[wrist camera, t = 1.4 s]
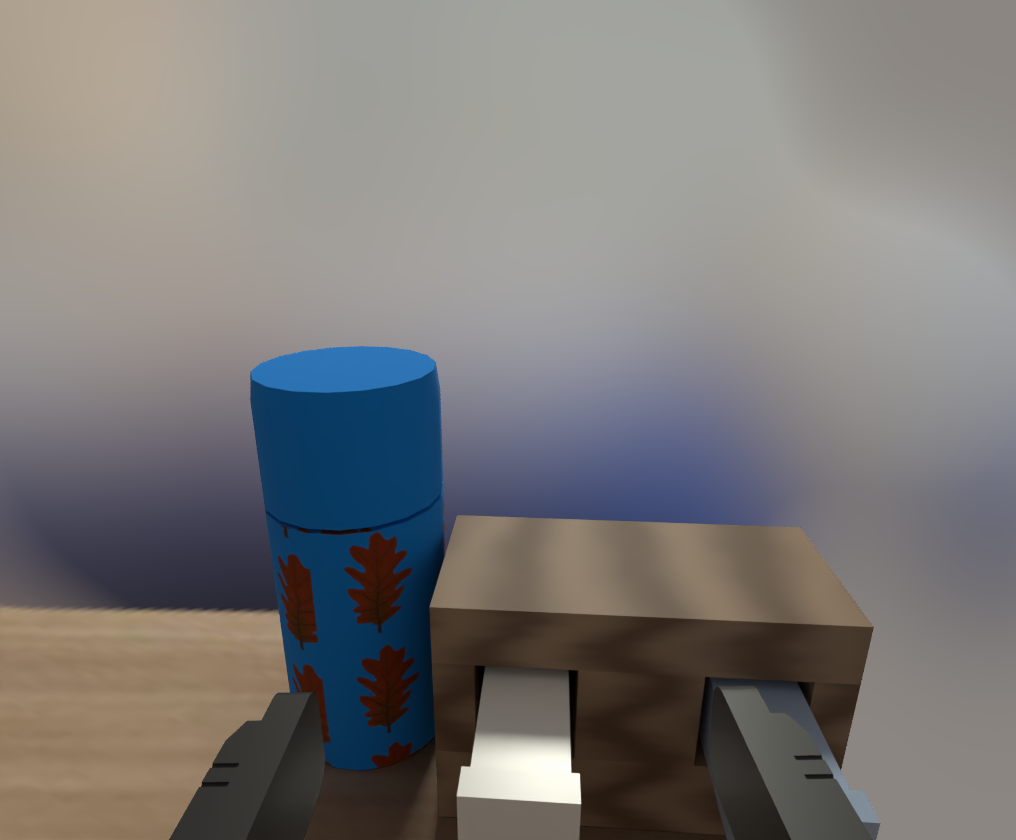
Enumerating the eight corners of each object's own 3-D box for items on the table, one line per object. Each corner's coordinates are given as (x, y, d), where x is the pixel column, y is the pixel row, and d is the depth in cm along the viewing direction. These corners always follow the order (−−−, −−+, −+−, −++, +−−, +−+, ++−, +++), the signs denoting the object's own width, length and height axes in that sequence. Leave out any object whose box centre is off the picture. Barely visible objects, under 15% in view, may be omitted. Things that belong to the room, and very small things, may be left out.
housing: (438, 816, 38) (429, 607, 33) (461, 692, 47) (457, 515, 42) (824, 841, 36) (873, 627, 32) (769, 708, 46) (800, 527, 41)
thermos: (471, 741, 43) (464, 380, 35) (304, 796, 39) (251, 404, 31) (425, 642, 52) (411, 340, 44) (287, 679, 48) (243, 354, 40)
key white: (459, 883, 29) (456, 796, 27) (485, 694, 40) (484, 624, 38) (576, 891, 28) (581, 804, 27) (570, 699, 39) (573, 627, 38)
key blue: (733, 903, 28) (748, 814, 26) (683, 705, 39) (692, 633, 37) (856, 912, 28) (880, 823, 26) (771, 710, 38) (784, 637, 37)
